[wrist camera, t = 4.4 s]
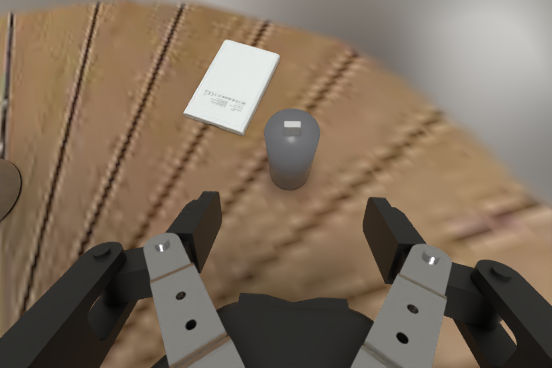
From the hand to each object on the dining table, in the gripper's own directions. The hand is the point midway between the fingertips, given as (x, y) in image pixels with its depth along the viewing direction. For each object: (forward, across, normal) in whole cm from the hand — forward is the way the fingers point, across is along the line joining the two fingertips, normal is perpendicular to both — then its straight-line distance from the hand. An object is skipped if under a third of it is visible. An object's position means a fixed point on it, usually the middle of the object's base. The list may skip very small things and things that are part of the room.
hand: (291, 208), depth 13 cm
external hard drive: (+23, +8, -4) cm, 24 cm away
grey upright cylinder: (+14, 0, +4) cm, 15 cm away
